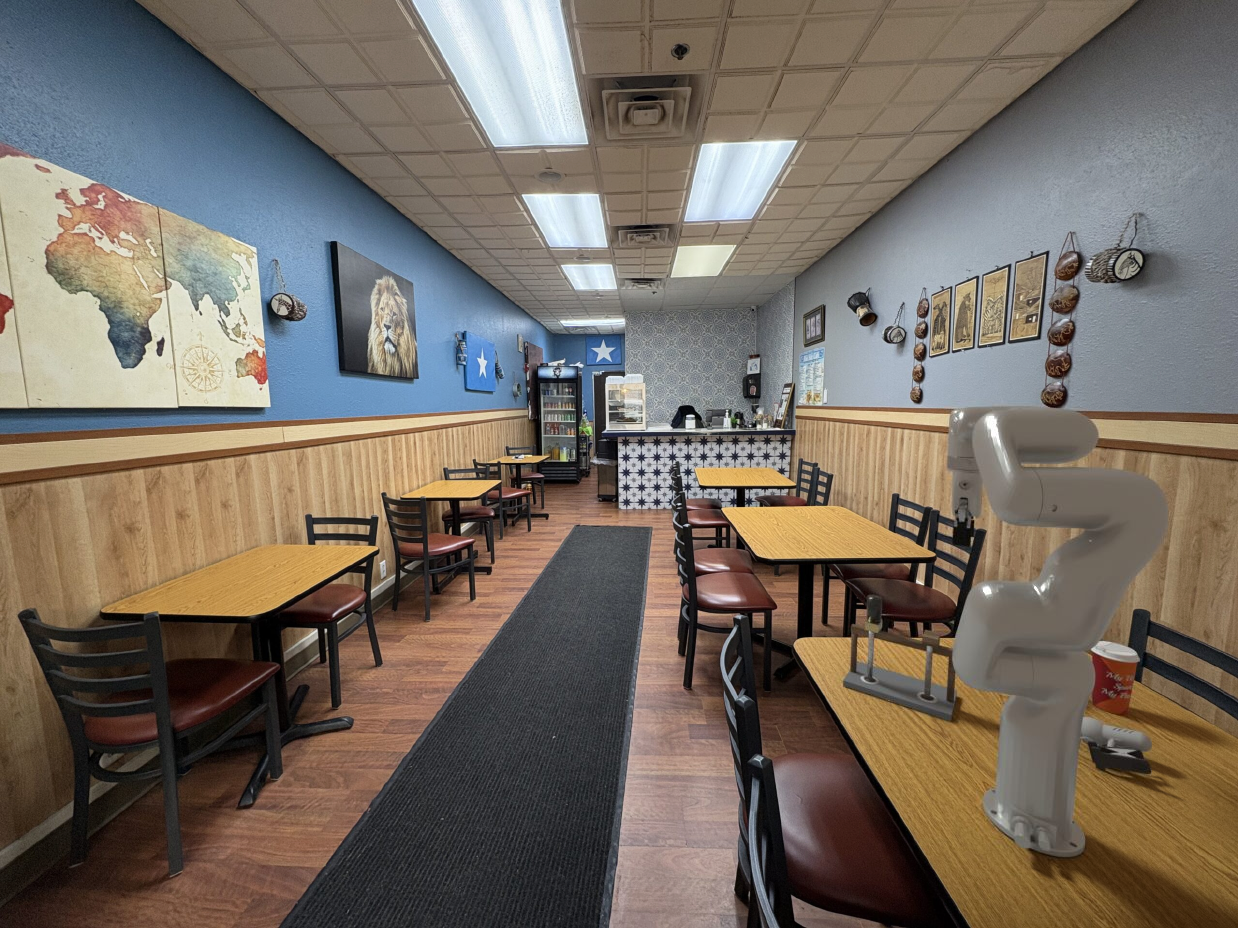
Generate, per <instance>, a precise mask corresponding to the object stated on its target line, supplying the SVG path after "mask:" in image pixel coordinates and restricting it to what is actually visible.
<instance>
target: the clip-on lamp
mask: <svg viewBox="0 0 1238 928" xmlns="http://www.w3.org/2000/svg"><path fill="white" fill-rule="evenodd" d="M1080 741H1084V743H1086V744H1087V746H1088V748H1089V749H1088V750H1089V754H1090V758H1091V761H1092V763H1094V764H1095V768H1096V770H1097V769H1098V770H1100V771H1103V772H1105V771H1107V768H1108V769H1109V768H1110V769H1115V770H1120V771H1126V772H1133V773H1136V774H1137V773H1138V774H1143V775H1151V774H1152V769H1151V764H1150V762H1149V761H1148V760H1146V759H1145V758H1144V753H1143V752H1145V753H1146V752H1148V751H1150V750H1152V748H1153V743H1152V740H1151V738H1150V737H1149V736H1148V735H1147V734H1146V733H1144V732H1143V731H1138V730H1133V729H1128V728H1125V727H1118V726H1115V725H1109V724H1105V723H1103V722H1102V721H1100V720H1098V719H1097V718H1093V717H1091V716H1084V717H1083V722H1082V728H1081V736H1080Z"/></svg>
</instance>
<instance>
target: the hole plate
mask: <svg viewBox="0 0 1238 928" xmlns="http://www.w3.org/2000/svg"><path fill="white" fill-rule="evenodd" d="M867 668H868V663H865V662H862V661H859V660H857V668H856V673H853V672H851V671H850V670H848V672H847V674H846V675H845V677H844V679H843V680H842V687H844V686H846V687H845V688H847V687H849V688H848V689H850V688H852V689H851V690H853V689H855V690H854V691H856V690H858V691H857V692H859V691H861V692H860V693H863V692H864V693H863V694H866V693H869V694H871V695H870V696H872V695H874V696H873V697H875V696H877V697H876V698H878V697H880V698H879V699H881V698H883V699H882V700H884V699H887V700H890V701H893V702H895V703H894V704H896V703H898V704H897V705H899V704H901V705H900V706H902V705H903V706H902V707H906V708H909V709H911V708H912V710H915V711H918V712H921V713H924V714H927V715H930V716H933V717H936V718H939V719H942V720H945V721H948V722H952V717H953V714H954V710H955V705H956V702H957V701H956V700H957V695H958V690H957V689H955V690H954V702H953V703H951V702H948V701H947V700H946V697H947V686H944V685H940V684H937V683H934V682H931V693H930V695H929V696H926V695H925V693H924V688H925V679H924V680H923V679H920V678H916V677H913V676H909V675H907V674H903V673H900V672H896V671H893V670H889V669H885V668H882V667H878V666H876V665H873V677H872V678H869V677H868V676H867ZM869 694H868V695H869ZM887 700H886V701H887ZM890 701H889V702H890ZM893 702H892V703H893Z"/></svg>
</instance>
